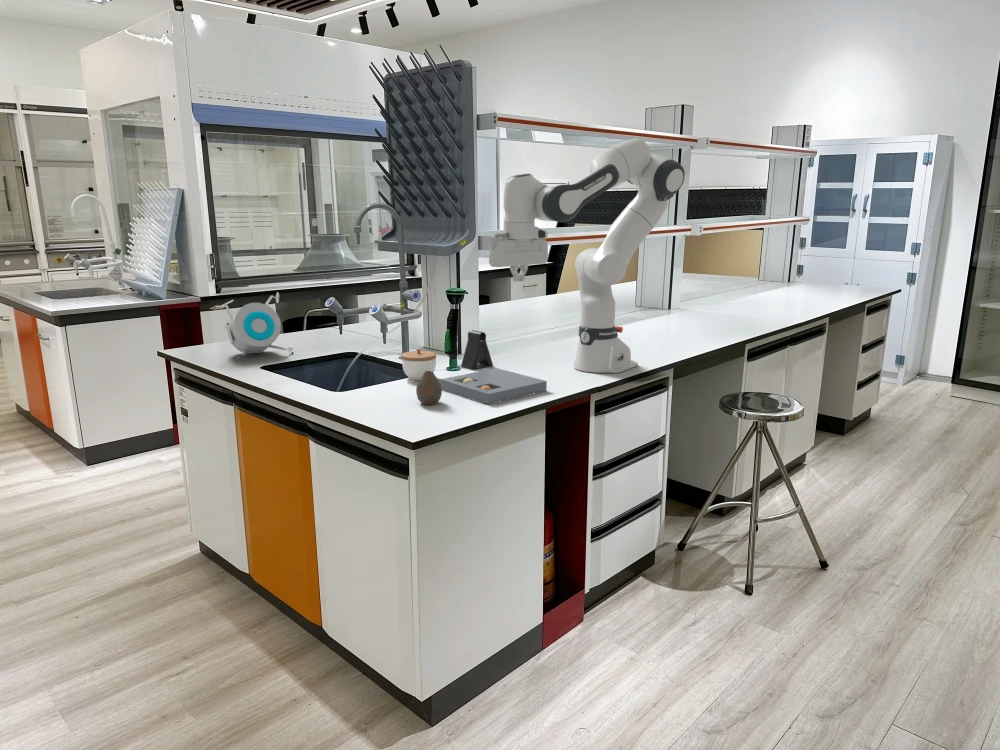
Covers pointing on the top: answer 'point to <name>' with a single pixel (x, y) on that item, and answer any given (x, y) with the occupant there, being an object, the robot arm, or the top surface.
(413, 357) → the lidded jar
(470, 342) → the door stopper
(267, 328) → the satellite
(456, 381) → the hole plate
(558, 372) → the top surface
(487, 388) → the terracotta ball
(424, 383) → the vase
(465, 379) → the sand ball
